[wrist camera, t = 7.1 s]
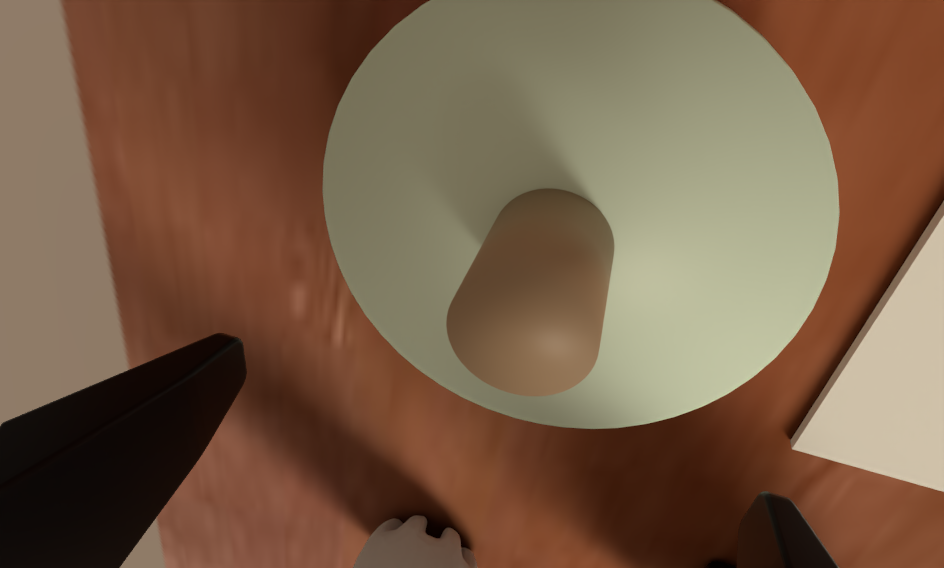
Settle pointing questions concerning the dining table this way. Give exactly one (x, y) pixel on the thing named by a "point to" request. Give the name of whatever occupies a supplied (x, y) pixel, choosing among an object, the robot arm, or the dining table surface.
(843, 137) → the dining table surface
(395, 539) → the bottle
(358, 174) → the lid
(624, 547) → the dining table surface
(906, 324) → the mat
